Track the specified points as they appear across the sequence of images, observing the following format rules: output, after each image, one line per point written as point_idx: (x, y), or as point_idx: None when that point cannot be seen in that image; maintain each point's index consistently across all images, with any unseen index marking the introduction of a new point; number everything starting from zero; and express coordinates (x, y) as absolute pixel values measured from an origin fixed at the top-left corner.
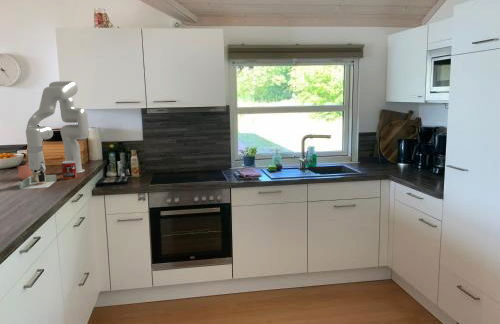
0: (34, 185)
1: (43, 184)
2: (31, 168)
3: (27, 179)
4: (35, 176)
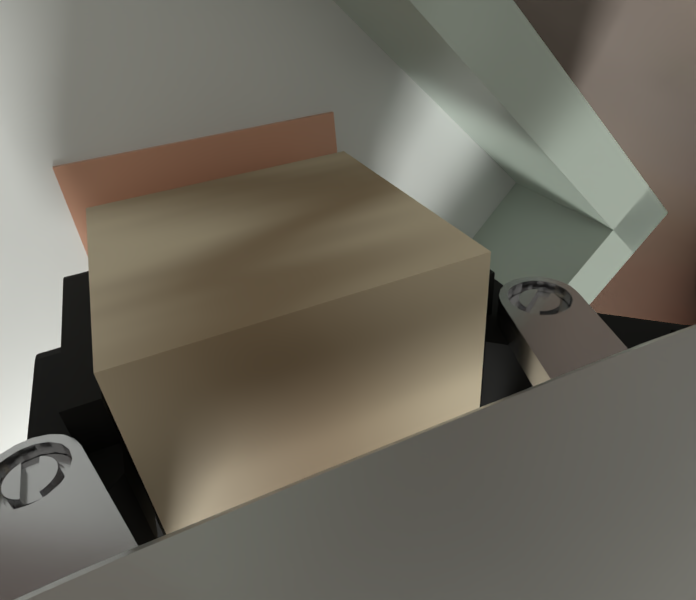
0: (108, 102)
1: (59, 309)
2: (607, 401)
3: (422, 25)
4: (190, 275)
